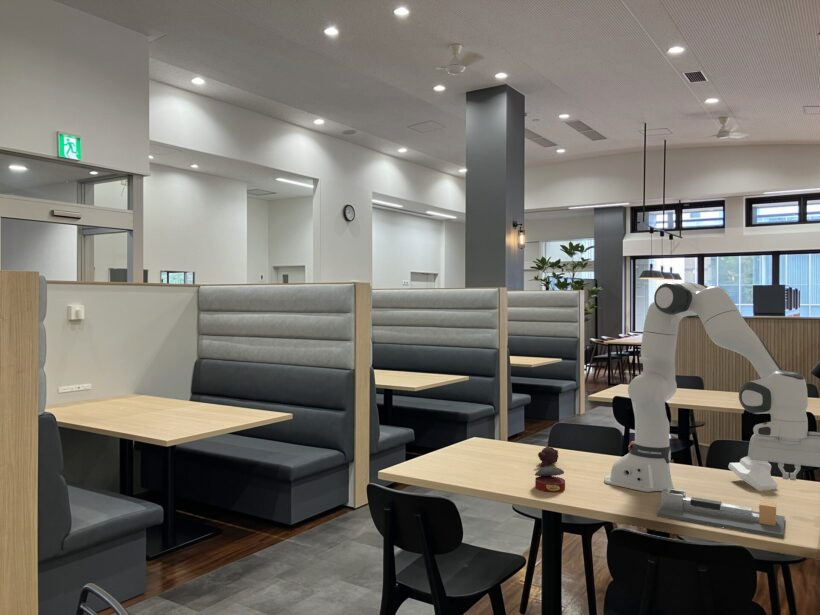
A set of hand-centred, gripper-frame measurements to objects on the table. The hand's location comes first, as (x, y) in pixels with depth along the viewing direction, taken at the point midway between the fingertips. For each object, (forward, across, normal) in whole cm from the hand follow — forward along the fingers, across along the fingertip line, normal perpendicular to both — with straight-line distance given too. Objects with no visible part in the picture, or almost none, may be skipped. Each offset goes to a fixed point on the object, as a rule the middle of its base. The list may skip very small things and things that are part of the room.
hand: (789, 479), depth 178 cm
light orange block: (+13, +5, 0) cm, 14 cm away
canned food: (+13, +69, -1) cm, 71 cm away
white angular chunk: (+14, +12, -46) cm, 50 cm away
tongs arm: (+11, +20, 0) cm, 23 cm away
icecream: (+12, +81, -33) cm, 88 cm away
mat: (+14, +17, 0) cm, 22 cm away
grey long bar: (+13, +18, 0) cm, 22 cm away
